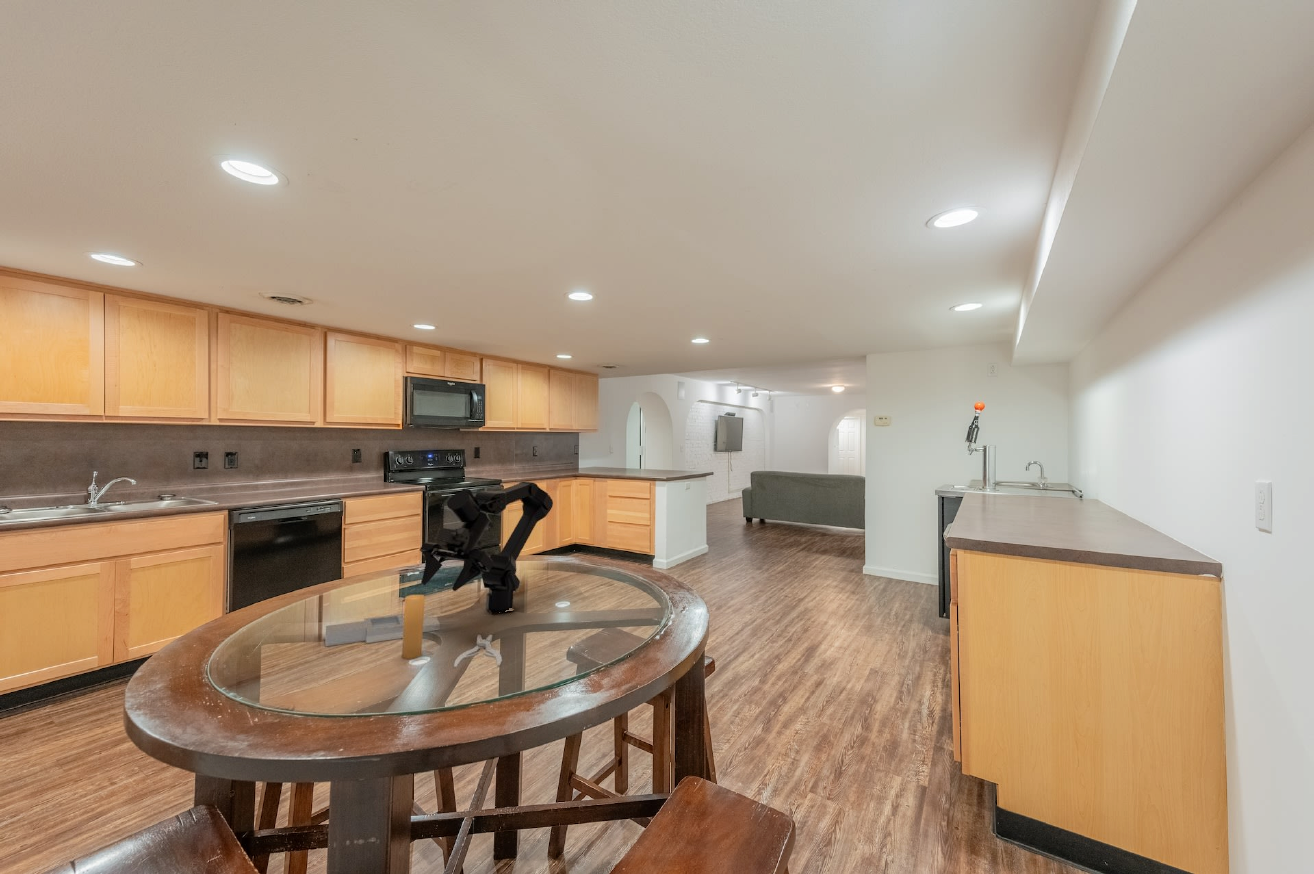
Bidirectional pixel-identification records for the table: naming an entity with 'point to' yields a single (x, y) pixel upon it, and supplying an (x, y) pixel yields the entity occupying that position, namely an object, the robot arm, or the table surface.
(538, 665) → the table surface
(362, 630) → the grey peg socket block
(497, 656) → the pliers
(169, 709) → the table surface
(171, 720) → the table surface
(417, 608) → the pin
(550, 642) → the table surface
